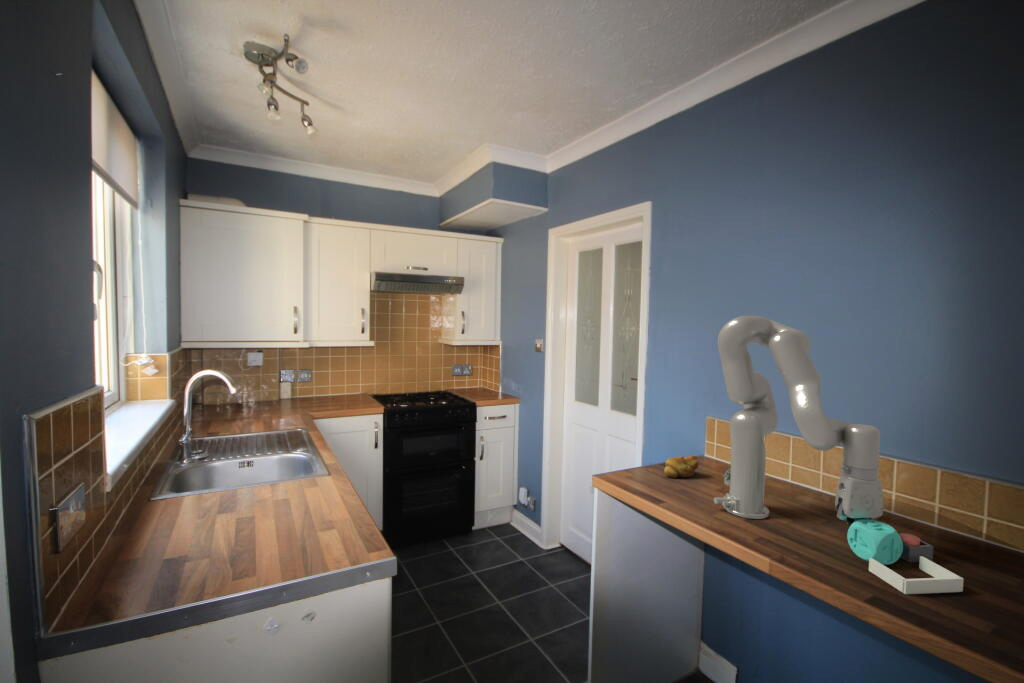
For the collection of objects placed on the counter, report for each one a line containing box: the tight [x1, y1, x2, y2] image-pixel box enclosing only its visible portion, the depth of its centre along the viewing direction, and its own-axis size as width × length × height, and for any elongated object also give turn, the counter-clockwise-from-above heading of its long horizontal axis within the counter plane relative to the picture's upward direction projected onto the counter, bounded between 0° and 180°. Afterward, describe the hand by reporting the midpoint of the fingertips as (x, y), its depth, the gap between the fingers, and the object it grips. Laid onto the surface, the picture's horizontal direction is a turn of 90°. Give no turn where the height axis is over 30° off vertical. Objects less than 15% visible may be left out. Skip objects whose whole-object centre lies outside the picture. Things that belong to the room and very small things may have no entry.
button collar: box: [899, 539, 934, 563], centre depth 117 cm, size 6×6×4 cm
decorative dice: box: [846, 519, 903, 566], centre depth 116 cm, size 8×8×8 cm
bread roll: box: [663, 455, 700, 479], centre depth 174 cm, size 13×10×8 cm
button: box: [898, 532, 921, 546], centre depth 117 cm, size 4×4×4 cm
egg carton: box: [722, 467, 731, 487], centre depth 167 cm, size 11×8×4 cm
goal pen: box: [868, 556, 964, 595], centre depth 106 cm, size 14×9×3 cm
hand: (855, 540), depth 122 cm, fingers closed
